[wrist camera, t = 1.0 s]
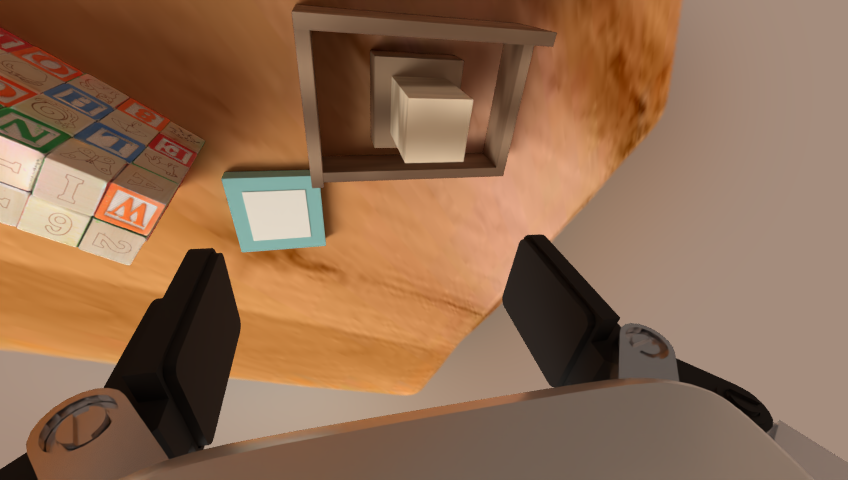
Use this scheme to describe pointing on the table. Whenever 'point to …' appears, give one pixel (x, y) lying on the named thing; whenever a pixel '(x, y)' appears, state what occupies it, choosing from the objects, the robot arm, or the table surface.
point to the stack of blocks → (83, 156)
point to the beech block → (429, 119)
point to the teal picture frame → (275, 209)
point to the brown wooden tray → (407, 64)
